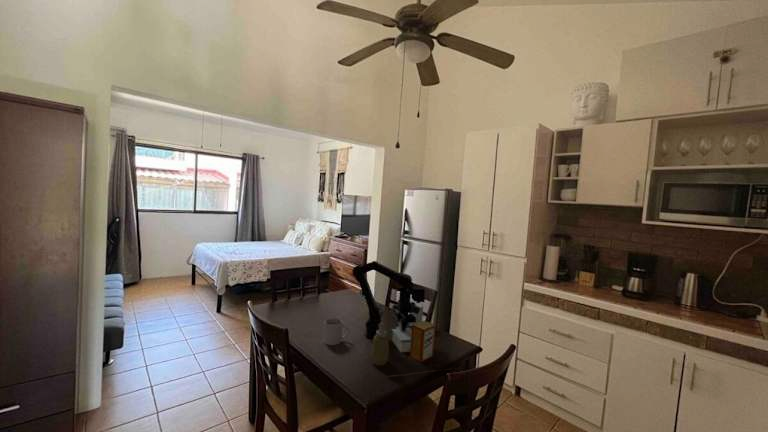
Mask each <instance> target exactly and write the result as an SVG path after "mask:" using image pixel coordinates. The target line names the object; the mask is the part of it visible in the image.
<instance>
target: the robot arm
mask: <svg viewBox="0 0 768 432" xmlns="http://www.w3.org/2000/svg"><path fill="white" fill-rule="evenodd" d="M371 271H376V272H377V273H379V274H381V275H383V276H385V277H387V278H389V279H391V280H392V281H394V282H395V283H396V284H398V287H397V288H396V289H395V291H397V292H399V298H398V300H397V304H393V305H392V307H391V309H392V311H393V312H395V313H394V315H395V316H396V320H397V322H398V324H399V321H400V322H401V327H402V330H403V331H405V329H406V328H407V326H408V325H409V323H412V322H416V318H415V316H414V315H412V314H410V313H412V312H414V313H416V314H418V313H419V311H420V308H419V307H418V306H416V305H415V303H425V300H426V288H418V287H416V286H415V284H414V282H413V279H412V276H411V275H410V274H406V273H403V272H398V271H395V270H393V269H392V268H390V267H388V266H385V265H383V264H382V263H379V262H378V261H376V260H373V261H371V262H367V263H364V264H363V263H360V264H359V263H358V264H357V265H355V266H354V267H353V268H352V272H351V273H352V275H353V276H354V277H353V278H354V279H356V281H357V282H358V283H359V286H360V288H361V291H362V294H363V297H364V299H365V303H366V305H367V307H368V317H369V318H368V319H367V320H366V322H365V333H364V336H365V338H366V339H367V340H370V339H372V340H373V339H374V336H375V335H376V331H377V330H379V328H380V325H381V323H382V320H383V318H384V312H383V309H382V306H378V305H377V302H376V300H375V297H374V295H373V292H372V289H371V286H370V283H369V281H368V272H371ZM411 300H412V301H411Z"/></svg>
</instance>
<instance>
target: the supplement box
mask: <svg viewBox="0 0 768 432" xmlns="http://www.w3.org/2000/svg"><path fill="white" fill-rule="evenodd" d="M414 303H415V305H416V306H418V307H419V308H420V311H419V313H418V314H416V313H414V312H412V313H409V314H412V315H414V316H415V318H416V322H412V323H408V327H410V328H412V325H414V324H416V323H419V322H422V321H423V318H424V317H423V315H424V303H423V302H414Z"/></svg>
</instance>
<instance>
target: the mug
mask: <svg viewBox="0 0 768 432" xmlns="http://www.w3.org/2000/svg"><path fill="white" fill-rule="evenodd" d="M323 325H324V326H323V344H325V345H327V346H336V345H339V344H341V343H342V339H346V337H347V336H348V335H349V327H348V325H347V324H346V323H344V322H343V320H342V319H339V318H327V319H326V320H324V323H323ZM343 326H344V327H345V328H346V332H345V333H344V335H343ZM342 335H343V336H342Z"/></svg>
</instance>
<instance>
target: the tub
mask: <svg viewBox="0 0 768 432" xmlns="http://www.w3.org/2000/svg"><path fill="white" fill-rule="evenodd" d="M392 342H393V344H394V345H395V346H396V347H397V349H398V350H399V352H400V353H408V352H409V353H410V348H411V342H400V340H399V339H398V338H397V337H396V335H395V334H394V333H393V332H392Z"/></svg>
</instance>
